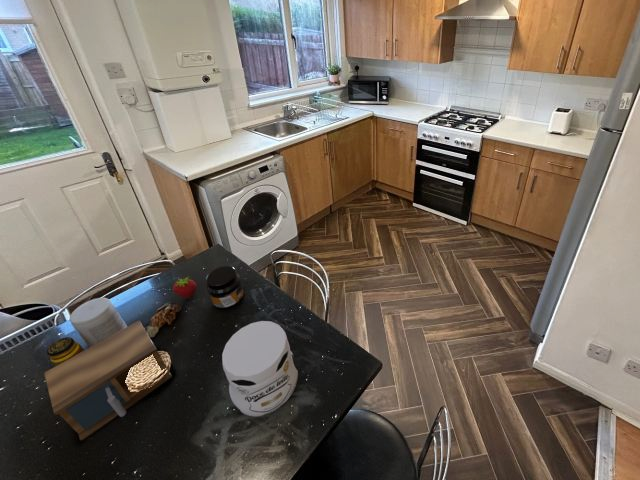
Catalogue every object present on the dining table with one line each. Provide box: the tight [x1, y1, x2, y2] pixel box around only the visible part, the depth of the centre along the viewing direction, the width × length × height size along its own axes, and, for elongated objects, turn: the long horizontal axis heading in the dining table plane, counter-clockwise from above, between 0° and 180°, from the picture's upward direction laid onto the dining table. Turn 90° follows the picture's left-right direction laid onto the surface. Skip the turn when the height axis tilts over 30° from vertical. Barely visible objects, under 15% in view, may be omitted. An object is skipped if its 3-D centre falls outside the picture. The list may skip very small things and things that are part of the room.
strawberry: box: [172, 275, 197, 300], centre depth 111 cm, size 6×8×10 cm
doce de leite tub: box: [221, 320, 299, 417], centre depth 82 cm, size 17×17×18 cm
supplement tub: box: [69, 297, 128, 348], centre depth 94 cm, size 10×10×15 cm
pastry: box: [144, 302, 181, 338], centre depth 103 cm, size 7×12×4 cm, turn 174°
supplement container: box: [205, 265, 245, 311], centre depth 110 cm, size 10×10×12 cm
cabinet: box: [43, 320, 173, 441], centre depth 82 cm, size 14×20×13 cm
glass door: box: [66, 378, 130, 430], centre depth 75 cm, size 6×9×10 cm, turn 140°
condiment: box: [46, 336, 86, 367], centre depth 87 cm, size 7×8×12 cm
